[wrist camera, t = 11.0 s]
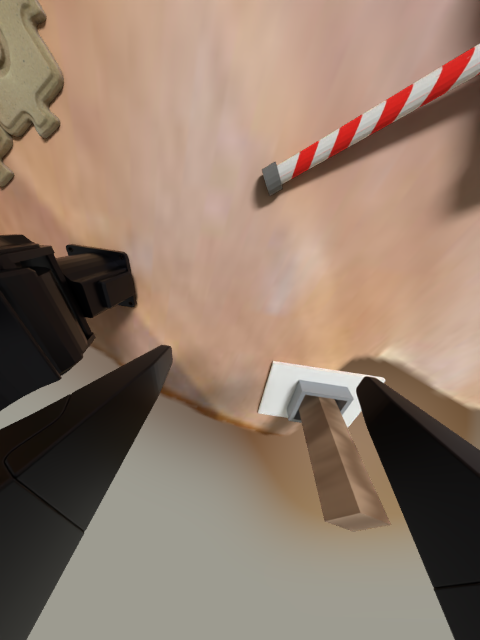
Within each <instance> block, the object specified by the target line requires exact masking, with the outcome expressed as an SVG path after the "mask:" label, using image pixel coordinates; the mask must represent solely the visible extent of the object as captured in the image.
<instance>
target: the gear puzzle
mask: <svg viewBox="0 0 480 640" xmlns="http://www.w3.org/2000/svg"><path fill="white" fill-rule="evenodd" d="M45 20H46V14H45V12H44V11H43V9H42V7H41V5H40V3H39V2H38V0H0V186H1V187H4V186H5V185H6V184H7V183H8V182H9V181H10V180H11V179H12V177H13V176H14V173H13V171H12V170H11V169H9V168H8V167H7V166H6V165H5V164H4V163H3V161H2V158H3V156H4V155H5V154H6V153H7V152H8V151H9V150H10V149H11V147H12V145H13V139H12V137H11V135H14V136H17V137H20V136H22V135H23V134H24V133H25V132H26V130H27V129H28V128H29V127H30V125H31V124H32V123H33V124H34V126H35V128H36V130H37V132H38V134H39V135H40V136H42V137H43V138H47V137H48V136H50V135H51V134H52V133H53V132H54V131H55V130H56V129H57V128H58V127H59V126H60V120H59V118H58V117H57V116H56V115H54V114H53V113H52V112H51V111H50V109H49V103H50V102H51V101H52V100H53V99H54V98H55V97H56V95H57V94H58V93H59V92H60V90H61V89H62V87H63V84H64V77H63V74H62V71H61V69H60V67H59V65H58V63H57V62H56V60H55V58H54V57H53V55H52V53H51V52H50V50H49V49H48V47H47V45H46V44H45V42H44V41H43V39H42V38H41V36H40V35H39V33H38V31H37V24H38V23H41V22H44V21H45Z"/></svg>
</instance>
